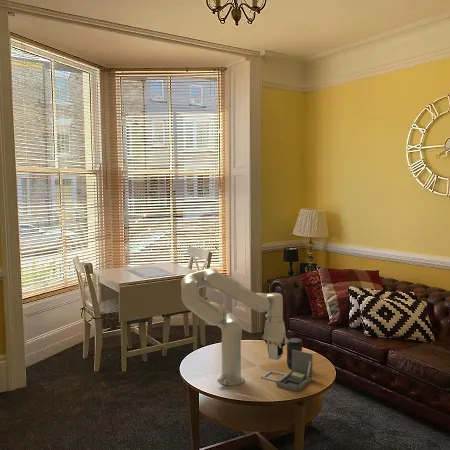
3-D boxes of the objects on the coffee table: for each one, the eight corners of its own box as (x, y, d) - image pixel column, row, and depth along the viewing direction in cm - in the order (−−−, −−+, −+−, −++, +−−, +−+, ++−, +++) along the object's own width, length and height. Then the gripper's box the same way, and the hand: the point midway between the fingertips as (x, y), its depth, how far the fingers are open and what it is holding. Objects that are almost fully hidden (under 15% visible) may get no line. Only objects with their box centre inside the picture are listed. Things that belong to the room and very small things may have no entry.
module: (277, 360, 239) (277, 344, 238) (268, 358, 241) (268, 342, 241) (282, 357, 243) (282, 341, 242) (273, 355, 246) (273, 339, 245)
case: (297, 393, 226) (298, 365, 225) (276, 387, 232) (276, 360, 231) (312, 380, 240) (312, 353, 239) (292, 375, 246) (292, 349, 245)
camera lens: (302, 365, 259) (303, 338, 258) (301, 371, 251) (301, 343, 250) (287, 363, 261) (287, 336, 260) (285, 369, 253) (285, 341, 252)
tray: (279, 383, 236) (279, 381, 236) (261, 379, 242) (261, 376, 242) (288, 376, 244) (288, 374, 244) (270, 372, 250) (270, 370, 250)
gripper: (256, 317, 242) (256, 352, 243) (287, 322, 232) (287, 359, 234) (263, 313, 248) (263, 348, 250) (294, 318, 239) (294, 354, 240)
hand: (275, 353), depth 242 cm, fingers closed on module, 5 cm apart
